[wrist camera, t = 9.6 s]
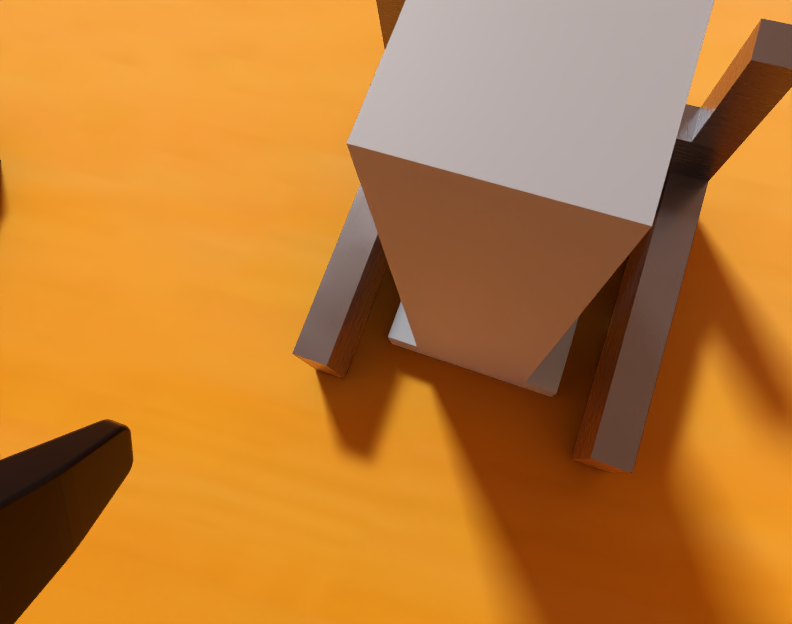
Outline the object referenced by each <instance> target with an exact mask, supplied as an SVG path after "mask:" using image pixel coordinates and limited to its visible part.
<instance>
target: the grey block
mask: <svg viewBox="0 0 792 624" xmlns="http://www.w3.org/2000/svg"><path fill="white" fill-rule="evenodd" d="M713 3H714V0H406V1H405V3H404V6H403V8H402V10H401V13H400V15H399V18H398V20H397V23H396V25H395V27H394V30H393V32H392V35H391V37H390V40H389V42H388V44H387V47H386V49H385V52H384V54H383V56H382V59H381V61H380V64H379V66H378V69H377V71H376V73H375V76H374V78H373V81H372V83H371V86H370V88H369V90H368V93H367V95H366V98H365V100H364V103H363V105H362V107H361V110H360V112H359V115H358V117H357V120H356V122H355V124H354V127H353V129H352V132H351V134H350V136H349V139H348V141H347V146H348V149H349V151H350V154H351V157H352V160H353V163H354V166H355V169H356V172H357V175H358V177H359V180H360V183H361V186H362V189H363V192H364V195H365V198H366V201H367V204H368V206H369V209H370V212H371V215H372V218H373V221H374V224H375V227H376V230H377V232H378V235H379V238H380V241H381V244H382V247H383V250H384V253H385V256H386V259H387V261H388V264H389V267H390V270H391V273H392V276H393V279H394V282H395V285H396V287H397V290H398V293H399V296H400V299H401V302H400V305H399V308H398V310H397V313H396V316H395V319H394V321H393V324H392V327H391V330H390V332H389V335H388V338H389V340H390V342H391V344H394V345H397V346H400V347H403V348H406V349H409V350H412V351H415V352H418V353H421V354H424V355H427V356H430V357H433V358H436V359H439V360H442V361H445V362H448V363H451V364H454V365H457V366H460V367H463V368H466V369H469V370H472V371H475V372H478V373H481V374H484V375H487V376H490V377H493V378H496V379H499V380H501V381H504V382H507V383H510V384H513V385H516V386H519V387H522V388H525V389H528V390H531V391H534V392H537V393H540V394H543V395H546V396H549V397H552V396H553V395H555V394H556V393H557V390H558V387H559V384H560V380H561V377H562V373H563V370H564V367H565V363H566V360H567V356H568V353H569V350H570V346H571V343H572V339H573V336H574V333H575V329H576V326H577V322H578V319H579V316H580V314H581V313H582V312H583V310H584V309H585V308H586V307H587V306H588V304H589V303H590V302H591V301H592V299H593V298H594V297H595V296H596V294H597V293H598V292H599V291H600V290H601V288H602V287H603V286H604V285H605V283H606V282H607V281H608V280H609V278H610V277H611V276H612V275H613V274H614V272H615V271H616V270H617V269H618V267H619V266H620V265H621V264H622V262H623V261H624V260H625V259H626V258H627V256H628V255H629V254H630V253H631V251H632V250H633V249H634V248H635V246H636V245H637V244H638V243H639V242H640V240H641V239H642V238H643V237H644V235H645V234H646V233H647V232H648V231H649V229H650V228H651V227H652V224H653V221H654V217H655V214H656V210H657V206H658V203H659V199H660V195H661V192H662V188H663V185H664V181H665V177H666V174H667V170H668V166H669V163H670V159H671V156H672V152H673V148H674V145H675V141H676V137H677V134H678V130H679V127H680V123H681V119H682V116H683V112H684V108H685V105H686V101H687V98H688V94H689V90H690V87H691V83H692V79H693V76H694V72H695V69H696V65H697V61H698V58H699V54H700V51H701V47H702V43H703V40H704V36H705V32H706V29H707V25H708V22H709V18H710V14H711V11H712V7H713Z"/></svg>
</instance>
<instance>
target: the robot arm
mask: <svg viewBox="0 0 792 624" xmlns="http://www.w3.org/2000/svg"><path fill="white" fill-rule="evenodd" d="M132 464H133V451H132V441H131V432H130V429H129V428H128V426H126V425H123V424H121V423H118V422H115V421H113V420H102V421H99V422H96V423H94V424H91V425H89V426H86V427H83V428H81V429H78V430H76V431H73V432H71V433H68V434H66V435H63V436H60V437H58V438H55V439H53V440H50V441H48V442H45V443H43V444H40V445H37V446H35V447H32V448H30V449H27V450H25V451H22V452H19V453H17V454H14V455H12V456H9V457H7V458H4V459H2V460H0V624H14V623H15V622H16V621H17V619H18V618H19V617H20V616H21V615H22V614H23V612H24V611H25V610H26V609H27V608H28V606H29V605H30V604H31V603H32V602H33V600H34V599H35V598H36V597H37V596H38V594H39V593H40V592H41V591H42V590H43V589H44V587H45V586H46V585H47V584H48V583H49V581H50V580H51V579H52V578H53V577H54V575H55V574H56V573H57V572H58V571H59V569H60V568H61V567H62V566H63V565H64V564H65V562H66V561H67V560H68V559H69V557H70V556H71V555H72V554H73V552H74V551H75V550H76V548H77V547H78V546H79V544H80V543H81V542H82V540H83V539H84V537H85V536H86V535H87V533H88V532H89V530H90V529H91V527H92V526H93V524H94V523H95V521H96V520H97V519H98V517H99V516H100V514H101V513H102V511H103V510H104V508H105V507H106V505H107V504H108V503H109V501H110V500H111V498H112V497H113V495H114V494H115V492H116V491H117V489H118V488H119V487H120V485H121V484H122V482H123V481H124V479H125V478H126V476H127V475H128V473H129V472H130V469H131V467H132Z"/></svg>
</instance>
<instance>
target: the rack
mask: <svg viewBox="0 0 792 624" xmlns="http://www.w3.org/2000/svg"><path fill="white" fill-rule="evenodd" d="M405 1H406V0H376V2H377V7H378V13H379V19H380V24H381V30H382V36H383V42H384V47H385V49H386V47H387V44H388V42H389V40H390V37H391V35H392V32H393V30H394V27H395V25H396V23H397V20H398V18H399V15H400V13H401V10H402V8H403V6H404V3H405ZM791 87H792V25H790V24H786V23H781V22H776V21H771V20H766V19H761V20H760V22H759V23H758V25H757V26H756V28H755V29H754V30H753V32H752V33H751V35H750V36H749V38H748V39H747V41H746V42H745V44H744V45H743V47H742V48H741V50H740V51H739V53H738V54H737V55H736V57H735V58H734V60H733V61H732V63H731V64H730V66H729V67H728V69H727V70H726V72H725V73H724V75H723V76H722V77H721V79H720V80H719V82H718V83H717V85H716V86H715V88H714V89H713V91H712V92H711V94H710V95H709V97H708V98H707V100H706V101H705V102H704V104H703V105H702V107H701V108H700V107H696V106H691V105H687V104H686V105H685V108H684V112H683V116H682V119H681V123H680V127H679V130H678V134H677V137H676V141H675V145H674V148H673V152H672V156H671V159H670V163H669V166H668V170H667V174H666V177H665V181H664V185H663V188H662V192H661V195H660V199H659V203H658V206H657V210H656V214H655V217H654V221H653V224H652V227H651V228H650V229H649V231H648V232H647V233H646V234H645V235H644V237H643V238H642V239H641V240H640V242H639V243H638V244H637V245H636V246H635V248H634V249H633V250H632V251H631V253H630V254H629V258H628V261H627V265H626V268H625V272H624V275H623V279H622V282H621V286H620V289H619V293H618V296H617V300H616V303H615V307H614V310H613V314H612V317H611V321H610V324H609V328H608V331H607V335H606V338H605V342H604V345H603V349H602V353H601V356H600V360H599V363H598V367H597V370H596V374H595V377H594V381H593V384H592V388H591V391H590V395H589V398H588V402H587V405H586V409H585V412H584V416H583V419H582V423H581V426H580V430H579V433H578V437H577V440H576V444H575V447H574V451H573V455H572V458H571V459H572V460H574V461H577V462H580V463H583V464H586V465H589V466H591V467H594V468H597V469H600V470H603V471H606V472H622V473H632V472H633V468H634V464H635V460H636V456H637V453H638V449H639V445H640V441H641V437H642V433H643V430H644V426H645V422H646V418H647V414H648V410H649V407H650V403H651V399H652V395H653V391H654V387H655V384H656V380H657V376H658V372H659V368H660V364H661V361H662V357H663V353H664V349H665V345H666V341H667V338H668V334H669V330H670V326H671V322H672V318H673V315H674V311H675V307H676V303H677V299H678V295H679V291H680V288H681V284H682V280H683V276H684V272H685V268H686V265H687V261H688V257H689V253H690V249H691V245H692V242H693V238H694V234H695V230H696V226H697V222H698V219H699V215H700V211H701V207H702V203H703V199H704V196H705V192H706V188H707V184H708V181H709V180H710V179H711V178H712V177H713V175H714V174H715V173H716V172H717V171H718V170H719V169H720V168H721V166H722V165H723V164H724V163H725V162H726V161H727V160H728V159H729V157H730V156H731V155H732V154H733V153H734V152H735V151H736V149H737V148H738V147H739V146H740V145H741V144H742V143H743V142H744V140H745V139H746V138H747V137H748V136H749V135H750V134H751V133H752V131H753V130H754V129H755V128H756V127H757V126H758V125H759V123H760V122H761V121H762V120H763V119H764V118H765V117H766V116H767V114H768V113H769V112H770V111H771V110H772V109H773V108H774V106H775V105H776V104H777V103H778V102H779V101H780V100H781V99H782V97H783V96H784V95H785V94H786V93H787V92H788V91H789V90H790V88H791ZM387 265H388V261H387V259H386V256H385V253H384V250H383V247H382V244H381V241H380V238H379V235H378V232H377V230H376V227H375V224H374V221H373V218H372V215H371V212H370V209H369V206H368V204H367V201H366V198H365V195H364V192H363V189H362V186H361V184H360V187H359V189H358V192H357V194H356V197H355V199H354V202H353V204H352V207H351V209H350V212H349V214H348V217H347V219H346V222H345V224H344V227H343V229H342V232H341V234H340V237H339V239H338V242H337V244H336V247H335V249H334V252H333V254H332V257H331V259H330V261H329V264H328V266H327V269H326V271H325V274H324V276H323V279H322V281H321V284H320V286H319V289H318V291H317V294H316V296H315V299H314V301H313V304H312V306H311V309H310V311H309V314H308V316H307V319H306V321H305V324H304V326H303V329H302V331H301V334H300V336H299V339H298V341H297V344H296V346H295V348H294V351H293V353H292V354H294V355H295V356H297V357H298V358H300V359H301V360H303V361H304V362H306V363H307V364H309V365H310V366H312V367H313V368H315V369H317V370H320V371H323V372H326V373H329V374H331V375H334V376H337V377H340V378H343V379H345V376H346V374H347V371H348V368H349V366H350V363H351V360H352V358H353V355H354V353H355V350H356V347H357V345H358V342H359V339H360V337H361V334H362V331H363V329H364V326H365V323H366V321H367V318H368V316H369V313H370V310H371V308H372V305H373V302H374V300H375V297H376V294H377V292H378V289H379V287H380V284H381V281H382V279H383V276H384V273H385V271H386V268H387Z"/></svg>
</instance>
